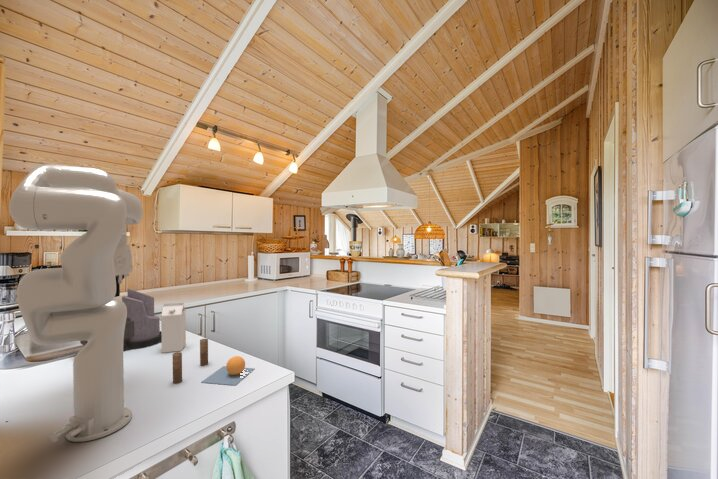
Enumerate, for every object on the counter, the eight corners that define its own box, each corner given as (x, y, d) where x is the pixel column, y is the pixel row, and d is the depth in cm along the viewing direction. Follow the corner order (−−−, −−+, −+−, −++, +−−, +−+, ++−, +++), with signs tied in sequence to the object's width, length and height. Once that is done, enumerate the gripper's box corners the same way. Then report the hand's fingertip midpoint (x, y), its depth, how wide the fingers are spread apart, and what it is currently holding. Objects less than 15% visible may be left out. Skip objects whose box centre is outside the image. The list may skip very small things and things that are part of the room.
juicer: (157, 333, 147) (156, 282, 147) (172, 340, 138) (172, 286, 137) (73, 353, 123) (72, 292, 122) (84, 363, 113) (83, 297, 113)
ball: (231, 358, 101) (219, 368, 102) (243, 371, 101) (230, 382, 102) (240, 349, 107) (228, 359, 108) (251, 362, 107) (240, 372, 108)
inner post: (178, 383, 98) (177, 355, 98) (170, 383, 99) (170, 355, 98) (184, 379, 101) (183, 352, 101) (176, 379, 101) (176, 352, 101)
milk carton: (166, 346, 130) (166, 301, 129) (185, 345, 132) (185, 300, 132) (161, 353, 123) (160, 305, 123) (181, 351, 125) (181, 304, 125)
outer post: (205, 366, 111) (204, 341, 111) (198, 365, 112) (198, 340, 111) (209, 363, 114) (209, 338, 114) (203, 362, 114) (203, 338, 114)
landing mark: (235, 385, 97) (235, 385, 97) (201, 382, 99) (201, 382, 99) (254, 369, 109) (254, 368, 109) (223, 366, 111) (223, 366, 111)
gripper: (99, 241, 93) (100, 302, 93) (141, 240, 108) (142, 292, 108) (78, 241, 94) (79, 301, 94) (123, 239, 109) (124, 291, 109)
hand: (113, 296), depth 101 cm, fingers closed
